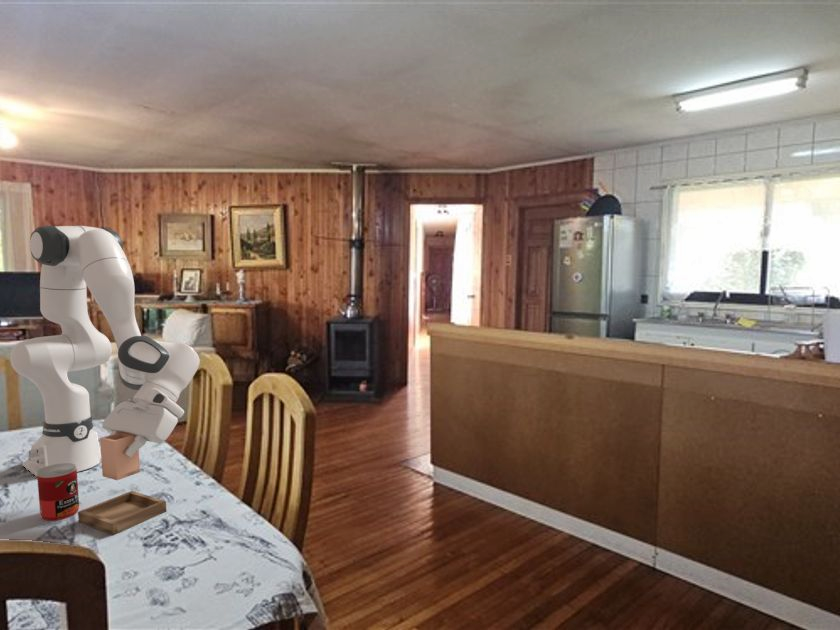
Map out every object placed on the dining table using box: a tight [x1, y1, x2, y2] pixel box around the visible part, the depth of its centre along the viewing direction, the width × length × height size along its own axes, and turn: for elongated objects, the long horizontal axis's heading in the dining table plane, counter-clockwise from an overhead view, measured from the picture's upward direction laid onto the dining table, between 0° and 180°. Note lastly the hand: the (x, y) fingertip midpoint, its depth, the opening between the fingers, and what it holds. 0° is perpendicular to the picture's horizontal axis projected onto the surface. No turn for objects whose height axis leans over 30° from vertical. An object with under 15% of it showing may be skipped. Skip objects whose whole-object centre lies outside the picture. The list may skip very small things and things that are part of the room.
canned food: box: [36, 463, 80, 522], centre depth 127 cm, size 8×8×11 cm
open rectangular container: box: [99, 432, 141, 481], centre depth 124 cm, size 6×6×9 cm
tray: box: [77, 490, 167, 536], centre depth 125 cm, size 13×13×2 cm
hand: (117, 453), depth 124 cm, fingers closed on open rectangular container, 5 cm apart
